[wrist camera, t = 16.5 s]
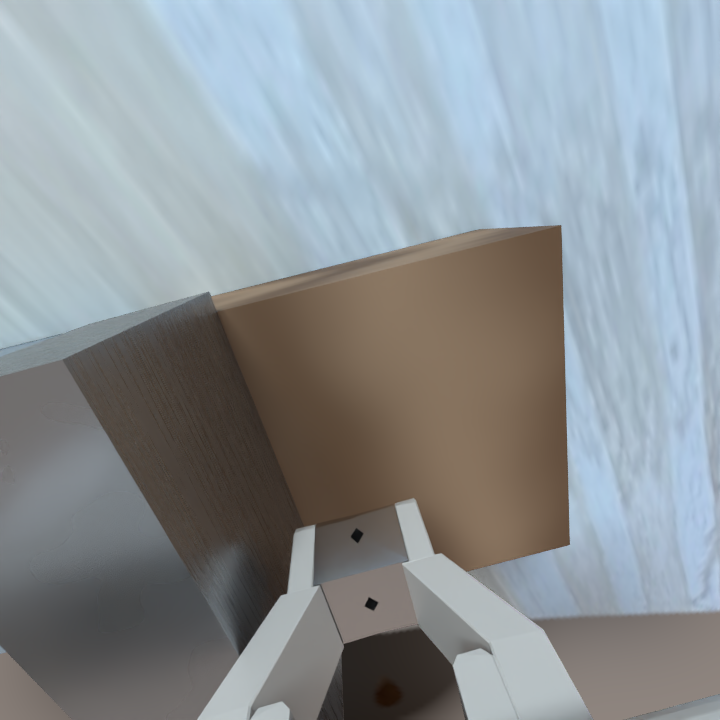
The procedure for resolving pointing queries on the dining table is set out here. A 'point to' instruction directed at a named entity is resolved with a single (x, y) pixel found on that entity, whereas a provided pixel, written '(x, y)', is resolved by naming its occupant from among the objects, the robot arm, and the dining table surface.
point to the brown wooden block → (420, 388)
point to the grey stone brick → (138, 515)
